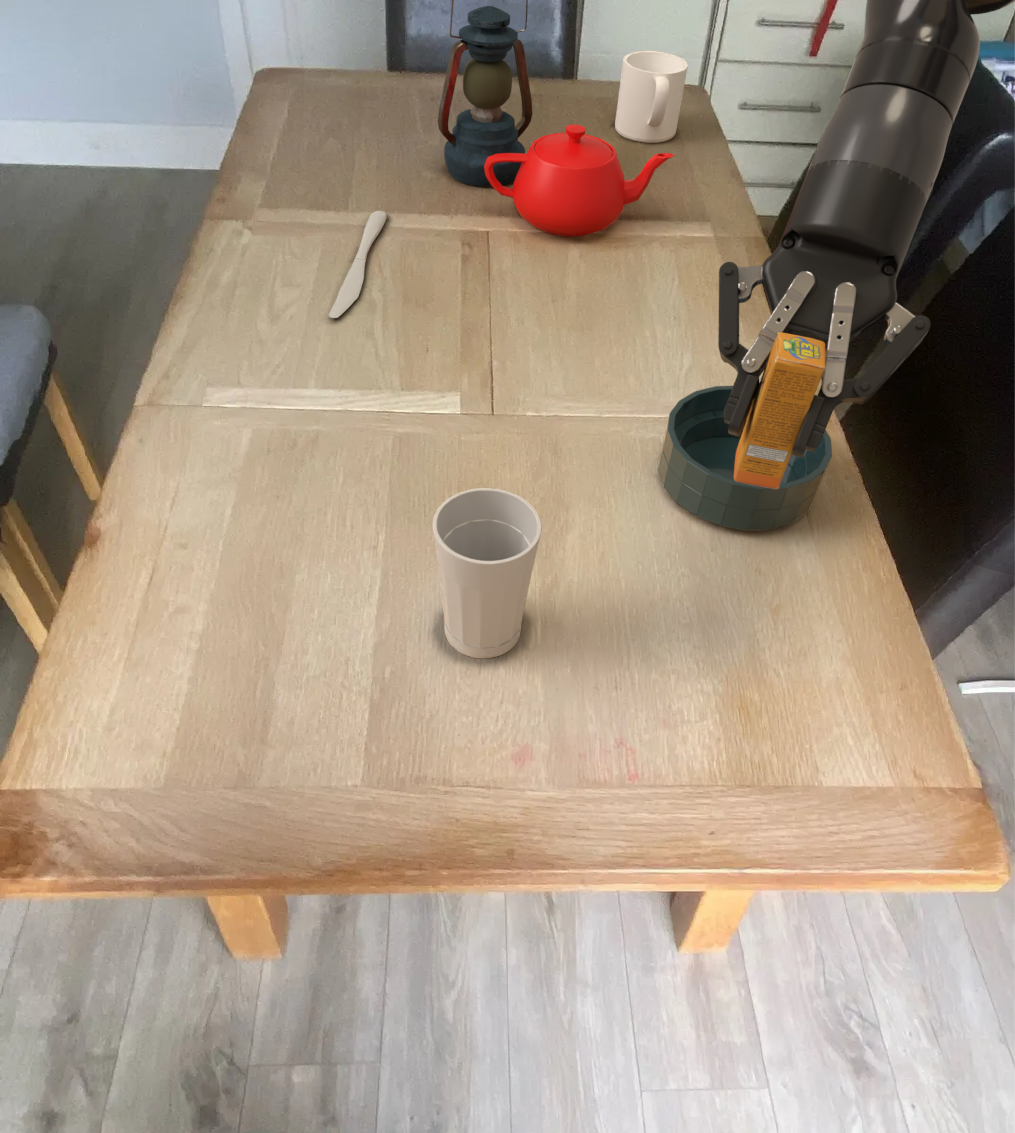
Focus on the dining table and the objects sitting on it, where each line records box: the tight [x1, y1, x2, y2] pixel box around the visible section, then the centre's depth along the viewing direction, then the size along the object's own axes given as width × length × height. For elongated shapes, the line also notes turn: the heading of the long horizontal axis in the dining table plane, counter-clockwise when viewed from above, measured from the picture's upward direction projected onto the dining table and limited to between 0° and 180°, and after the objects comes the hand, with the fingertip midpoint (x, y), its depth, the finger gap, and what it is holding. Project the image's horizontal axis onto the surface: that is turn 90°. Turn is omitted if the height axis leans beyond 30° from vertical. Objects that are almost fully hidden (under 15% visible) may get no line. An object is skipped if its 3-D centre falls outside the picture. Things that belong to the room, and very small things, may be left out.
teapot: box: [484, 124, 675, 238], centre depth 121 cm, size 25×16×12 cm, turn 90°
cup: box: [432, 487, 543, 659], centre depth 70 cm, size 8×8×12 cm
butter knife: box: [327, 210, 388, 319], centre depth 114 cm, size 1×27×3 cm
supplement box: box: [734, 332, 826, 489], centre depth 59 cm, size 3×3×10 cm
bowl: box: [657, 385, 833, 532], centre depth 87 cm, size 15×15×6 cm
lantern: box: [437, 0, 534, 188], centre depth 121 cm, size 14×12×35 cm
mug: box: [614, 50, 689, 144], centre depth 143 cm, size 13×10×10 cm
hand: (765, 442), depth 58 cm, fingers closed on supplement box, 3 cm apart
